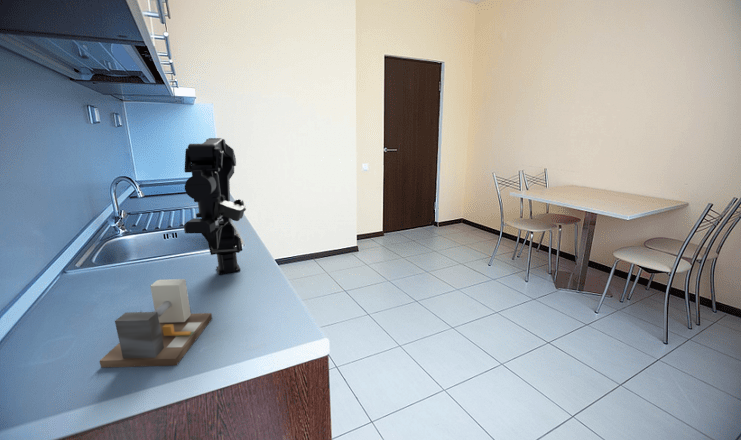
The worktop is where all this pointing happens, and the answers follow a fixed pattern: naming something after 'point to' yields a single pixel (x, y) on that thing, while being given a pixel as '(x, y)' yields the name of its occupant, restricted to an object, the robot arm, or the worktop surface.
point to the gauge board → (166, 352)
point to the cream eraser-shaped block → (171, 300)
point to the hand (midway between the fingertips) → (215, 248)
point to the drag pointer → (169, 331)
